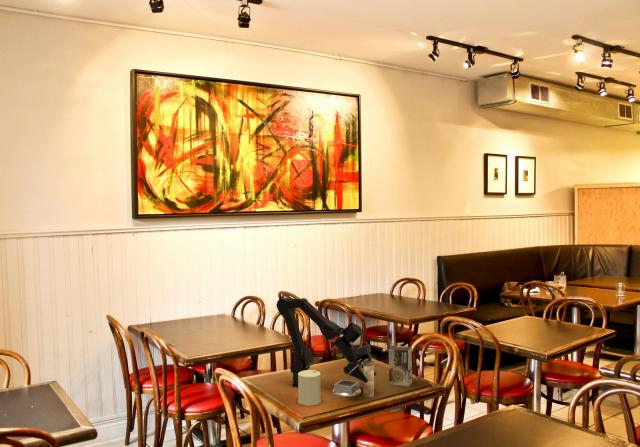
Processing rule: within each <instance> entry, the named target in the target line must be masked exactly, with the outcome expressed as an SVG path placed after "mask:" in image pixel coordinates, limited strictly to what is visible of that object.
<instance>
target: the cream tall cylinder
mask: <svg viewBox="0 0 640 447" xmlns="http://www.w3.org/2000/svg"><path fill="white" fill-rule="evenodd" d="M362 370H363V371H362V372H363V374H364V375H365V377H366V378H367V380H368V382H367V383H366V382H364V381H362V384H363V388H362V389H363V397H364V398H373V397H375V376H374V370H375V362H374V361H373V360H371V361H364V362H363V368H362Z"/></svg>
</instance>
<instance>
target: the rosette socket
mask: <svg viewBox="0 0 640 447" xmlns="http://www.w3.org/2000/svg"><path fill="white" fill-rule="evenodd" d="M333 386H334V387H333V389H332V394H333V395H335V396H337V397H343V398H353V397H357V396H359V395H361V394H362V390H361V388H360V381H357V380H349V379H342V378H341V380H339V381H337V382H336V383H335V384H333Z"/></svg>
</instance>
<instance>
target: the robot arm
mask: <svg viewBox="0 0 640 447" xmlns="http://www.w3.org/2000/svg"><path fill="white" fill-rule="evenodd" d="M275 305H276V309H277V311H278V314H280V316H281V317H282V318H283V319H284V321H285V324H286V328H287V330H288V333H289V337H290V339H291V343H292V346H293V348H294V355H293V359H294V360H293V361H294V363H293V364H292V365H291V366H290V368H289V369H290V372H291V373H292V385H291V387H296V388H297V387H298V373H299V372H301V371H305V370H310V369H311V366H312V365H313V363H314V358H315V357H314V355H313V351H312V348H309V349H308V347H306V345H305V341H304V339H303V337H302V333H301V330H300V326H299V324H298V322H297V317H296V310H297V309H300V311H302V312H303V314H305V315H306V316H307V317H308V318H309V319H310V320H312V322H313V323H314V324H315V325H316V326H317V327H318V328H319V331H320V333H321V334H322V336H323V337H324V338H325V340H328V341H330V340H331V341H330V349H333V348H336V349H337V350H338V351H339V352H340V353H341V355H342V356H341V358H342V359H345V360H346V361H347V362H348V363H347V365H345V367H343V373H344V374H345V375H346V376H350V377H353V378H354V379H355V378H356V379H357V380H360V381H362V382H363V381H364V382H366V383H367V382H368V380H367V378H366V377H365V375H364V374H363V371H362V369H363V362H364V361H372V359H373V354H372V353H371V352H372V350H371V347H372V345H371V344H369V342H367V341H365V342H363V343H361V346H359V347H358V346H356V345H353V344H352V343H355V342H356V341H357V340H358V339H359V338H360V337H361V336H362V335H363V334H364V331H363V329H362V326H359V325H358V324H357V323H354V322H353V321H350V322H349V323H348V325H347V326H346V327H342V326H340V325H339V324H338V323H336V322H334V321H333V320H330V319H328V318H326V317H325V316H324V315H323V314H322V313H321V312H320V311H319V310H318V309H317V308H315V306H313V305H312V304H311V303H310V301H308V299H307V298H305V297H302V298H297V297H295V298H292V297H291V296H286V297H283V298H279V299H278V300H277V301H276V304H275ZM340 336H341V337H340ZM335 338H336V339H335ZM334 339H335V340H334ZM361 368H362V369H361ZM376 376H377V373H376V371H375V369H374V377H376Z"/></svg>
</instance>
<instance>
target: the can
mask: <svg viewBox="0 0 640 447" xmlns="http://www.w3.org/2000/svg"><path fill="white" fill-rule="evenodd" d="M297 398H298V400H297V402H298V404H299V405H301V406H305V407H306V406H307V407H311V406H316V405H319V404H321V402H322V399H321V372H320V371H318V370H313V369H307V370H305V371H301V372H299V373H298V397H297Z"/></svg>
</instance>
